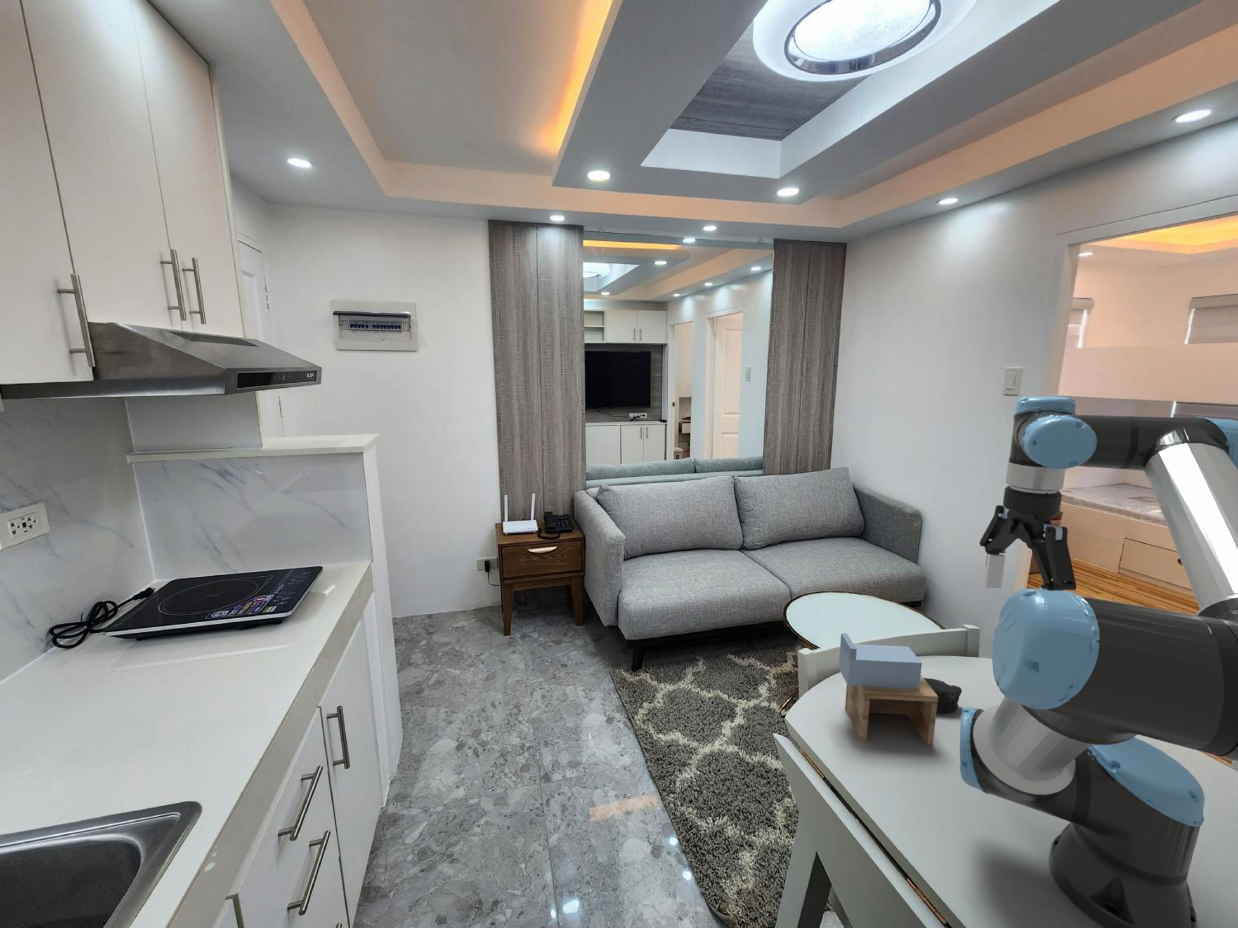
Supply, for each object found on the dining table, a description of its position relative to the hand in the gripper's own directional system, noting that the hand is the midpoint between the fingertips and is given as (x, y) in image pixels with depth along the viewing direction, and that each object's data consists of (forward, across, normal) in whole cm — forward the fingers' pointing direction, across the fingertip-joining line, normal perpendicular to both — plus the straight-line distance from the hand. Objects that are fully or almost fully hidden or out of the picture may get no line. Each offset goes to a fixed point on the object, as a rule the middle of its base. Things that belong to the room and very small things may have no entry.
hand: (1016, 603), depth 88 cm
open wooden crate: (+35, +11, +15) cm, 39 cm away
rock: (+35, +19, +2) cm, 40 cm away
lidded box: (+24, +11, +17) cm, 31 cm away
